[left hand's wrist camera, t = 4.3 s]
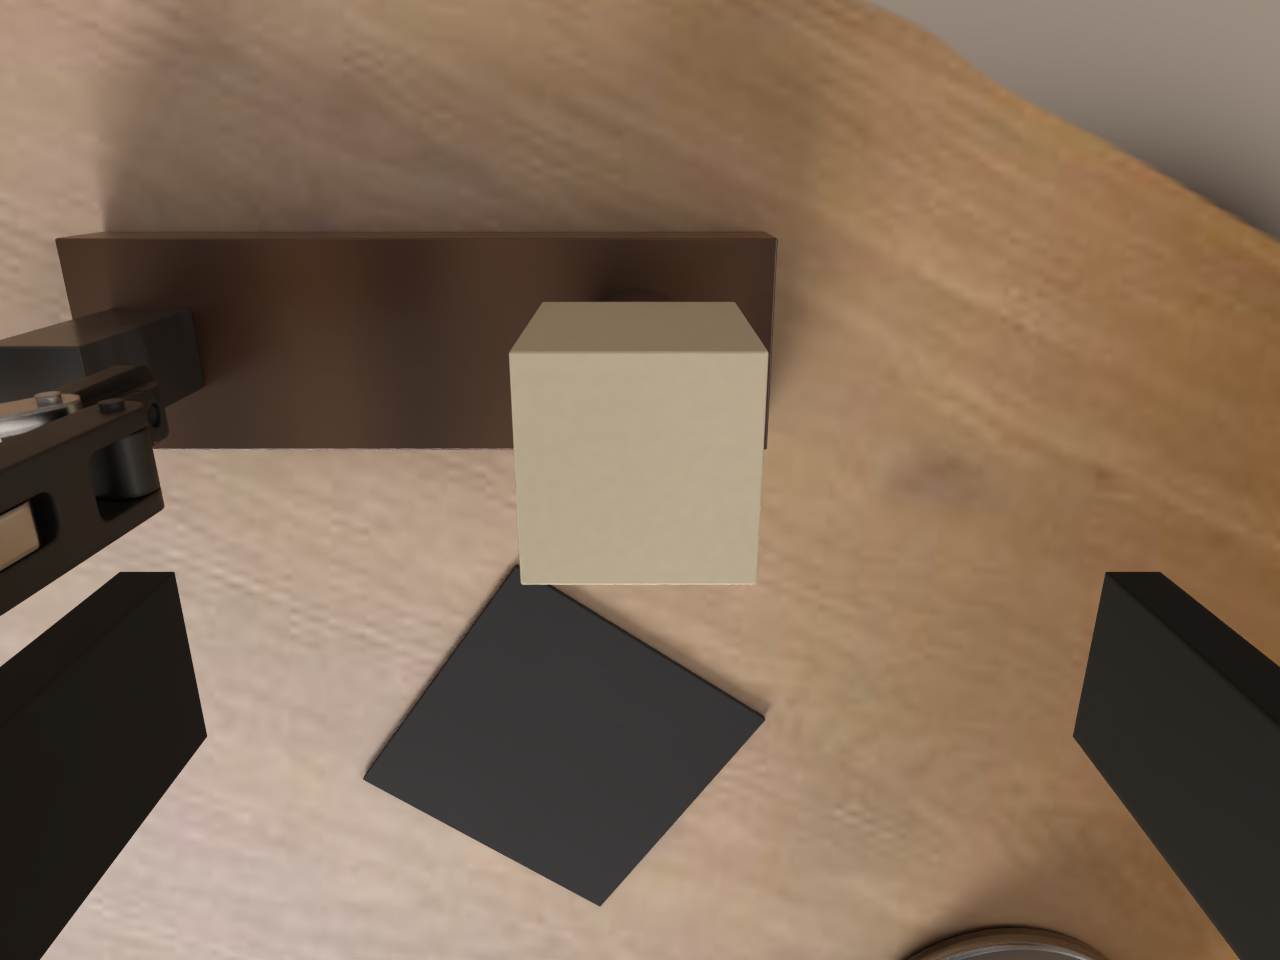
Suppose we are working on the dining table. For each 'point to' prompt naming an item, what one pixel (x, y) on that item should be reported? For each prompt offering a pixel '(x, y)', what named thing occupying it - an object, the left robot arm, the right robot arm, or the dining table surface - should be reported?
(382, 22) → the dining table surface
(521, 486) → the cap block
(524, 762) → the rubber mat
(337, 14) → the dining table surface
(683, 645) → the dining table surface
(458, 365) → the walnut stand
